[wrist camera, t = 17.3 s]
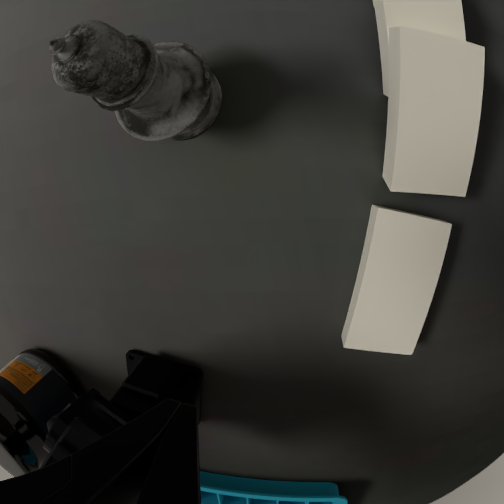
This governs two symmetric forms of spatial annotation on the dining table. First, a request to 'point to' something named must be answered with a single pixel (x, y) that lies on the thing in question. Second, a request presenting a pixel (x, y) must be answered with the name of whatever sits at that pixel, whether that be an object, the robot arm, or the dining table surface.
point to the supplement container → (31, 407)
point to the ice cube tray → (265, 491)
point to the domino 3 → (395, 280)
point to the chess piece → (139, 80)
